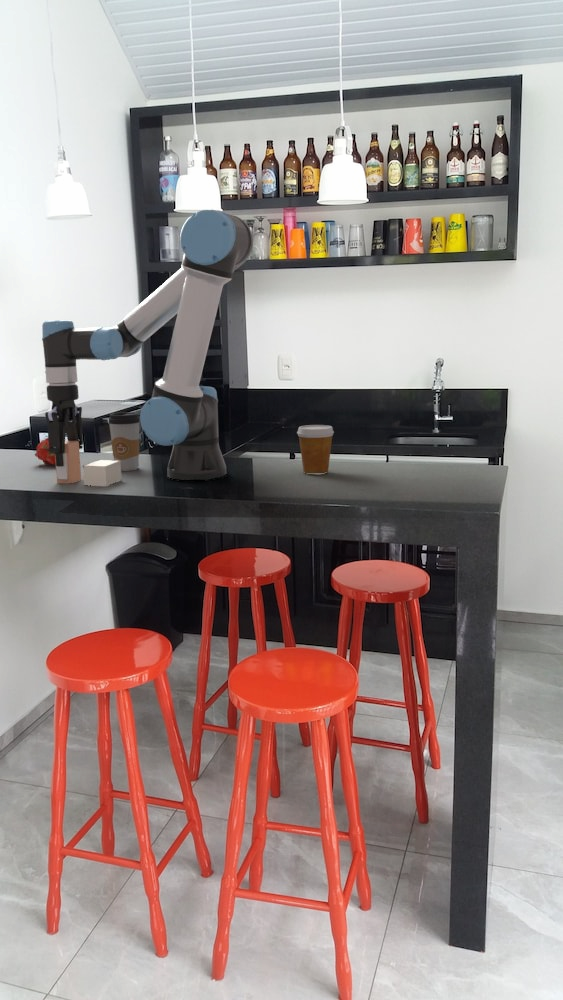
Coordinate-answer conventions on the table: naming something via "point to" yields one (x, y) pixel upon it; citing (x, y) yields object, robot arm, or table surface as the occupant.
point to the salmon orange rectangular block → (72, 462)
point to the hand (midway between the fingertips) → (68, 476)
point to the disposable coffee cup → (315, 447)
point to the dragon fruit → (45, 452)
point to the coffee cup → (125, 439)
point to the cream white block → (102, 472)
